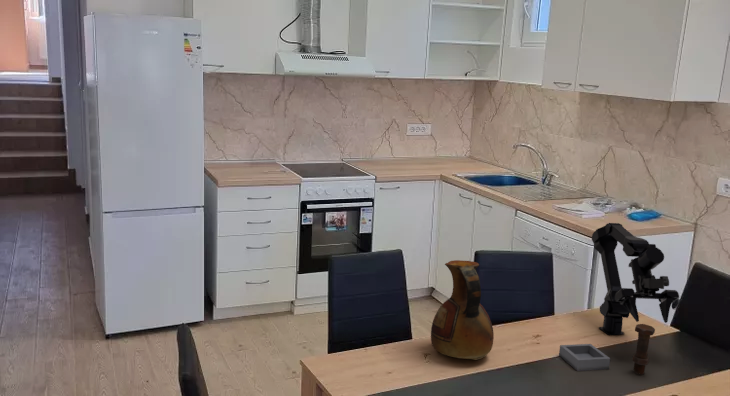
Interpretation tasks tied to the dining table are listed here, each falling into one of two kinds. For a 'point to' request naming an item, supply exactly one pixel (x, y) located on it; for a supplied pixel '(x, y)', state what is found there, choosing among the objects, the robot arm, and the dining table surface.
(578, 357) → the socket block
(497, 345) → the dining table surface
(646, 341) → the bolt
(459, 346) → the ceramic pitcher
